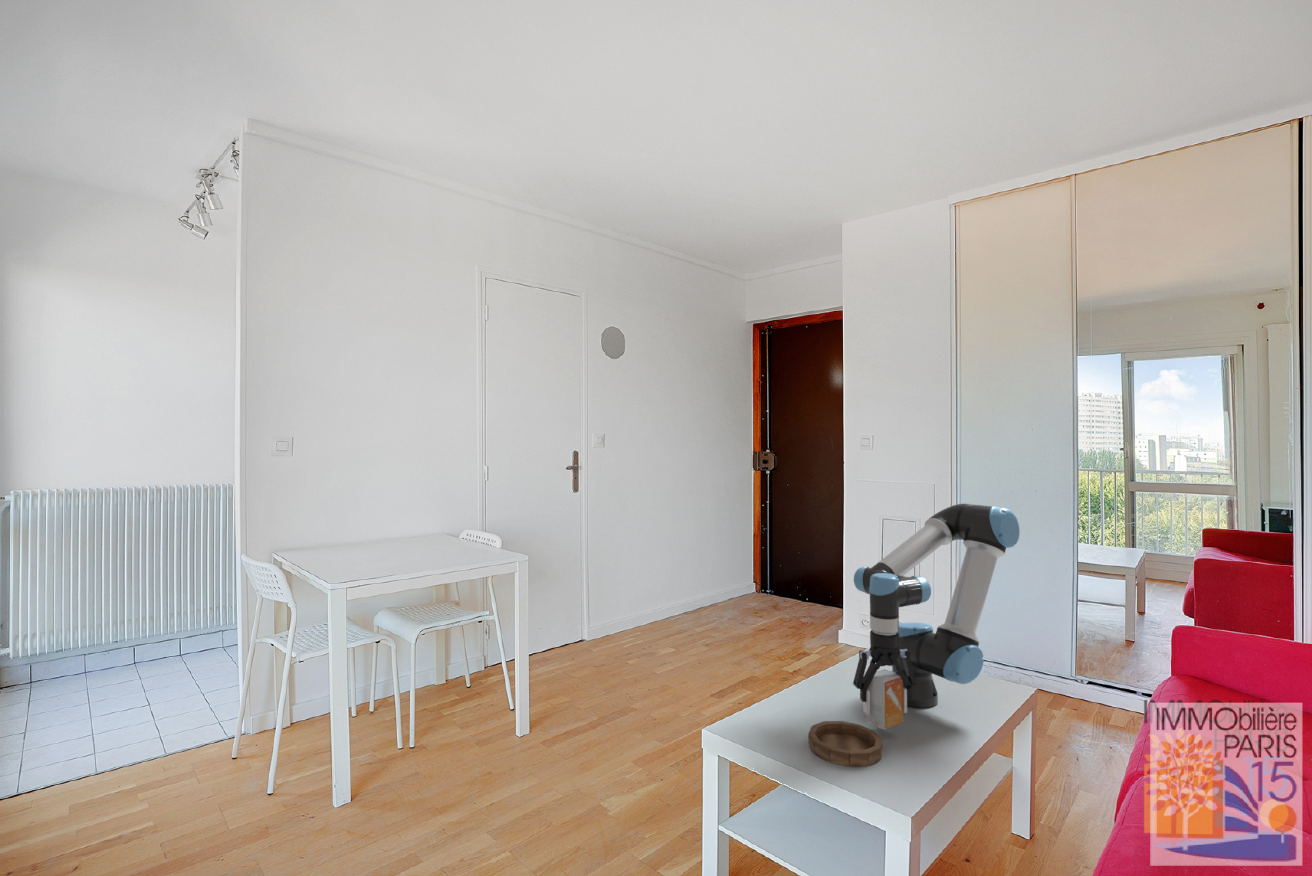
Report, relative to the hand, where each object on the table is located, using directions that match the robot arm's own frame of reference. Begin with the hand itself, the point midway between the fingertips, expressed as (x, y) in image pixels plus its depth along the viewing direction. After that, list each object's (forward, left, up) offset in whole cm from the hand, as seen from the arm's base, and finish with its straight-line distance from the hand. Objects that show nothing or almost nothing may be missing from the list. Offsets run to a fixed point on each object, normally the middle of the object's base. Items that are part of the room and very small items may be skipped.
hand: (885, 711), depth 174 cm
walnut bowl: (+15, +8, -6) cm, 18 cm away
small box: (0, 0, -3) cm, 3 cm away
